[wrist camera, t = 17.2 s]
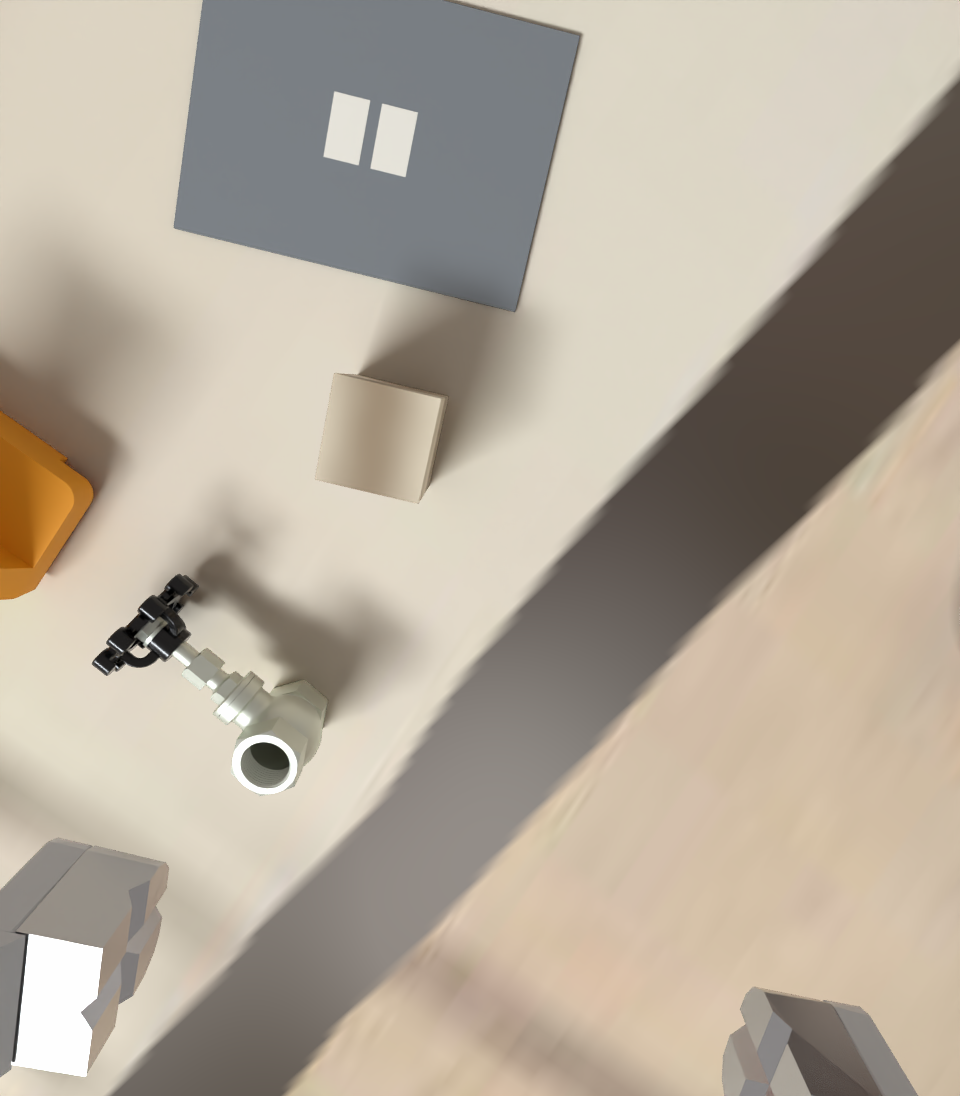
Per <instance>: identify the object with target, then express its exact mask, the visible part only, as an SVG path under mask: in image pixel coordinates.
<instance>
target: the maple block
mask: <svg viewBox="0 0 960 1096" xmlns="http://www.w3.org/2000/svg"><path fill="white" fill-rule="evenodd" d="M448 398H449V396H445V395H440V394H436V393H432V392H428V391H424V390H420V389H415V388H411V387H407V386H403V385H399V384H395V383H390V382H386V381H382V380H378V379H374V378H370V377H365V376H361V375H355V374H339V373H334V376H333V382H332V387H331V393H330V398H329V404H328V409H327V415H326V420H325V425H324V431H323V436H322V442H321V447H320V453H319V458H318V464H317V469H316V475H315V480H319V481H323V482H327V483H331V484H336V485H340V486H344V487H348V488H353V489H357V490H361V491H366V492H370V493H374V494H378V495H383V496H387V497H391V498H395V499H400V500H404V501H408V502H413V503H417V504H419V502H420V500H421V499H422V497H423V495H424V494H425V492H426V490H427V489H428V487H429V484H430V479H431V475H432V470H433V466H434V461H435V457H436V452H437V448H438V443H439V439H440V434H441V429H442V425H443V420H444V416H445V411H446V407H447V402H448Z"/></svg>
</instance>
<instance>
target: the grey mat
mask: <svg viewBox="0 0 960 1096" xmlns="http://www.w3.org/2000/svg"><path fill="white" fill-rule="evenodd" d="M579 37H580V36H578V35H575V34H571V33H567V32H563V31H559V30H555V29H552V28H548V27H544V26H540V25H536V24H532V23H529V22H525V21H521V20H517V19H513V18H509V17H506V16H502V15H498V14H494V13H490V12H486V11H482V10H479V9H475V8H471V7H467V6H463V5H459V4H456V3H452V2H448V1H444V0H203V3H202V11H201V19H200V27H199V35H198V42H197V50H196V58H195V66H194V73H193V81H192V89H191V97H190V104H189V112H188V120H187V128H186V136H185V143H184V151H183V159H182V167H181V174H180V182H179V190H178V198H177V205H176V213H175V221H174V228H175V229H179V230H183V231H187V232H191V233H195V234H199V235H203V236H207V237H211V238H215V239H219V240H224V241H228V242H232V243H236V244H240V245H244V246H248V247H252V248H256V249H260V250H264V251H268V252H272V253H277V254H281V255H285V256H289V257H293V258H297V259H301V260H305V261H309V262H313V263H317V264H321V265H325V266H329V267H334V268H338V269H342V270H346V271H350V272H354V273H358V274H362V275H366V276H370V277H374V278H378V279H382V280H387V281H391V282H395V283H399V284H403V285H407V286H411V287H415V288H419V289H423V290H427V291H431V292H435V293H440V294H444V295H448V296H452V297H456V298H460V299H464V300H468V301H472V302H476V303H480V304H484V305H488V306H493V307H497V308H501V309H505V310H509V311H513V312H515V310H516V306H517V301H518V297H519V293H520V289H521V284H522V280H523V276H524V272H525V267H526V263H527V259H528V254H529V250H530V246H531V242H532V237H533V233H534V229H535V225H536V220H537V216H538V212H539V208H540V203H541V199H542V195H543V191H544V186H545V182H546V178H547V174H548V169H549V165H550V161H551V157H552V152H553V148H554V144H555V139H556V135H557V131H558V127H559V122H560V118H561V114H562V110H563V105H564V101H565V97H566V93H567V88H568V84H569V80H570V76H571V71H572V67H573V63H574V59H575V54H576V50H577V46H578V42H579Z"/></svg>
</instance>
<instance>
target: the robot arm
mask: <svg viewBox="0 0 960 1096" xmlns="http://www.w3.org/2000/svg"><path fill="white" fill-rule="evenodd" d="M168 872H169V867H168V865H167V863H166V862H162V861H158V860H154V859H149V858H145V857H141V856H137V855H133V854H128V853H124V852H120V851H116V850H111V849H107V848H103V847H99V846H91V845H87V844H83V843H79V842H75V841H70V840H66V839H62V838H56V839H53V840H51V841H49V842H47V843H46V844H45V845H44V846H43V847H42V848H41V849H40V850H39V851H38V852H37V853H36V854H35V855H34V856H33V857H32V858H31V859H30V860H29V861H28V862H27V863H26V864H25V865H24V866H23V867H22V868H21V869H20V870H19V871H18V872H17V873H16V874H15V875H14V877H13V878H12V879H11V880H10V881H9V882H8V883H7V884H6V885H5V886H4V887H3V888H2V889H1V890H0V1077H1V1076H2V1075H4V1074H5V1073H7V1072H8V1071H9V1070H11V1067H12V1064H13V1065H19V1066H25V1067H31V1068H37V1069H43V1070H49V1071H55V1072H61V1073H67V1074H74V1075H80V1076H86V1075H87V1073H88V1071H89V1070H90V1068H91V1066H92V1064H93V1063H94V1061H95V1059H96V1058H97V1056H98V1054H99V1053H100V1051H101V1049H102V1048H103V1046H104V1044H105V1043H106V1041H107V1039H108V1037H109V1036H110V1034H111V1032H112V1031H113V1029H114V1027H115V1023H116V1016H117V1010H118V1004H120V1003H122V1002H123V1001H125V1000H127V999H128V998H130V997H132V996H133V995H134V993H135V991H136V989H137V988H138V986H139V984H140V982H141V981H142V979H143V977H144V975H145V973H146V970H147V968H148V965H149V963H150V961H151V958H152V956H153V953H154V950H155V947H156V943H157V940H158V936H159V932H160V926H161V920H162V916H161V914H160V913H159V911H158V909H157V907H156V905H157V903H158V901H159V900H160V898H161V897H162V895H163V893H164V892H165V890H166V888H167V880H168ZM740 1010H741V1013H742V1016H743V1018H744V1021H745V1023H746V1024H745V1025H744V1026H743V1027H741V1028H740V1029H738V1030H737V1031H735V1032H734V1033H733V1034H731V1035H730V1037H729V1040H728V1043H727V1046H726V1049H725V1052H724V1055H723V1069H722V1082H723V1089H724V1096H918V1095H917V1093H916V1091H915V1090H914V1088H913V1086H912V1085H911V1083H910V1081H909V1080H908V1078H907V1076H906V1075H905V1073H904V1072H903V1070H902V1068H901V1067H900V1065H899V1063H898V1062H897V1060H896V1058H895V1057H894V1055H893V1053H892V1052H891V1050H890V1048H889V1047H888V1045H887V1043H886V1042H885V1040H884V1038H883V1037H882V1035H881V1033H880V1032H879V1030H878V1029H877V1027H876V1025H875V1024H874V1022H873V1020H872V1019H871V1017H870V1016H869V1014H868V1013H866V1012H865V1011H864V1010H863V1009H862V1008H861V1007H859V1006H853V1005H848V1004H843V1003H837V1002H832V1001H827V1000H823V1001H821V1000H817V999H812V998H807V997H802V996H797V995H793V994H788V993H783V992H778V991H773V990H768V989H763V988H758V987H753V988H752V989H751V990H750V991H749V992H748V993H747V994H746V995H745V998H744V1000H743V1003H742V1005H741V1008H740Z"/></svg>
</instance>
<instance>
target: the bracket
mask: <svg viewBox="0 0 960 1096" xmlns="http://www.w3.org/2000/svg"><path fill="white" fill-rule="evenodd" d="M67 459H68V458H66V457H65V456H64V455H62V454H61V453H59V452H58V451H56V450H55V449H54V448H52V447H51V446H49V445H48V444H47V443H45V442H44V441H42V440H41V439H39V438H38V437H37V436H35V435H34V434H32V433H31V432H30V431H28V430H27V429H25V428H24V427H23V426H21V425H20V424H18V423H17V422H15V421H14V420H13V419H11V418H10V417H8V416H7V415H6V414H4V413H3V412H1V411H0V600H4V599H14V598H17V597H19V596H21V595H23V594H26V593H28V592H30V591H32V590H35V589H36V587H37V586H38V584H39V582H40V581H41V579H42V578H43V576H44V575H45V573H46V572H47V570H48V569H49V567H50V566H51V564H52V562H53V561H54V559H55V558H56V556H57V555H58V553H59V552H60V550H61V549H62V547H63V546H64V544H65V542H66V541H67V539H68V538H69V536H70V535H71V533H72V532H73V530H74V529H75V527H76V525H77V524H78V522H79V521H80V519H81V518H82V516H83V515H84V513H85V512H86V510H87V509H88V507H89V505H90V504H91V502H92V500H93V489H92V486H91V484H90V483H89V481H88V480H87V479H86V478H84V477H83V476H82V475H80V474H79V473H77V472H76V471H75V470H73V469H72V468H70V467H69V466H68V465H66V464H65V462H66V460H67Z"/></svg>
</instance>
